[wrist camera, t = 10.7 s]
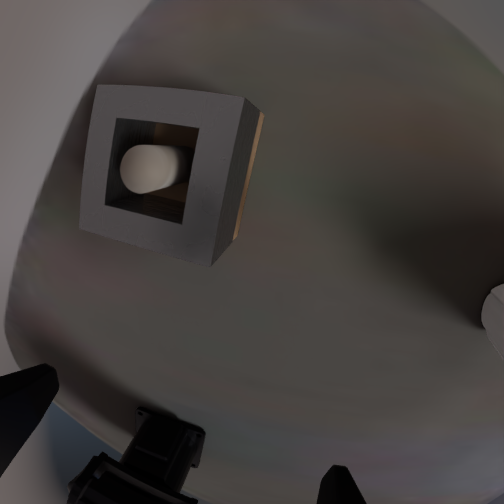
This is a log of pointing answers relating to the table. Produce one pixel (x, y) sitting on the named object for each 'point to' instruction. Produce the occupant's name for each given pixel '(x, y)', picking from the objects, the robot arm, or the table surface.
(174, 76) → the table surface
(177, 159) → the tan knobbed plate
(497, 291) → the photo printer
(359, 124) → the table surface
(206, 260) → the hollow square frame
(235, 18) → the table surface
